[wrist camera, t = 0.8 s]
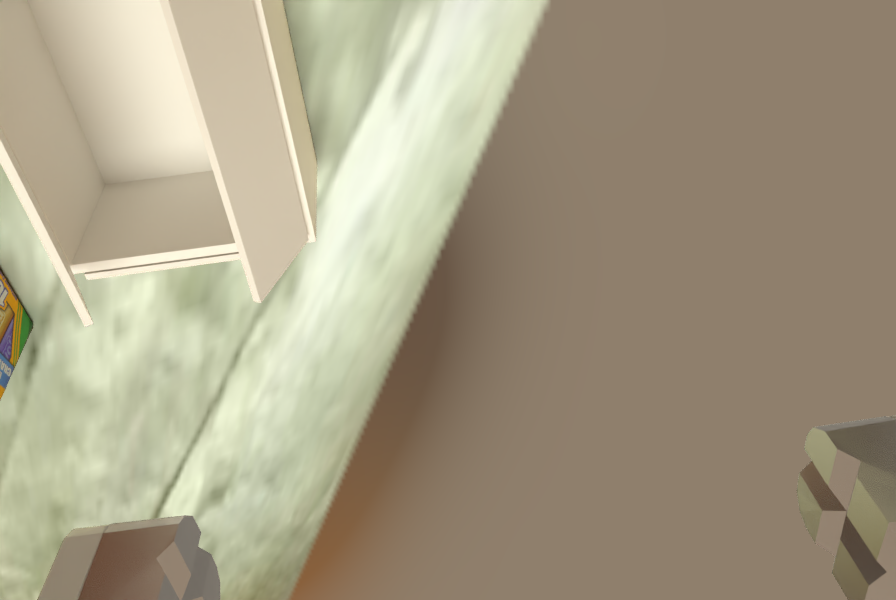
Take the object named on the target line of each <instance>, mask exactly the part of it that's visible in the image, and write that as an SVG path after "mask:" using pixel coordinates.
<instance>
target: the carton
mask: <svg viewBox="0 0 896 600" xmlns="http://www.w3.org/2000/svg"><path fill="white" fill-rule="evenodd" d="M252 2H253V7H254V11H255V15H256V19H257V24H258V28H259V32H260V36H261V40H262V45H263V49H264V53H265V57H266V62H267V66H268V70H269V74H270V78H271V83H272V87H273V91H274V95H275V100H276V104H277V108H278V112H279V116H280V121H281V125H282V129H283V133H284V138H285V142H286V146H287V150H288V154H289V159H290V163H291V167H292V171H293V176H294V180H295V184H296V188H297V192H298V197H299V201H300V205H301V209H302V214H303V218H304V222H305V226H306V230H307V235H308V239H309V240H308V241H307V243H308V242H315V241H316V209H317V160H316V155H315V150H314V145H313V141H312V136H311V131H310V126H309V122H308V117H307V112H306V107H305V103H304V98H303V93H302V89H301V84H300V79H299V74H298V70H297V65H296V60H295V55H294V51H293V46H292V41H291V36H290V32H289V27H288V22H287V17H286V13H285V8H284V3H283V0H252ZM0 128H1V130H2V132H3V134H4V136H5V138H6V140H7V142H8V144H9V146H10V148H11V150H12V152H13V154H14V156H15V158H16V160H17V162H18V164H19V166H20V168H21V170H22V172H23V174H24V176H25V178H26V180H27V182H28V184H29V186H30V188H31V190H32V192H33V194H34V196H35V198H36V200H37V202H38V204H39V206H40V208H41V210H42V212H43V214H44V216H45V218H46V220H47V222H48V224H49V226H50V228H51V230H52V232H53V234H54V236H55V238H56V240H57V242H58V244H59V246H60V248H61V250H62V252H63V254H64V256H65V258H66V260H67V262H68V264H69V266H70V268H71V270H72V272H73V274H76V273H84V272H85V274H84V275H85V277H86V279H87V280H91V279H98V278H106V277H113V276H121V275H128V274H135V273H143V272H150V271H158V270H165V269H173V268H180V267H187V266H195V265H202V264H210V263H217V262H225V261H232V260H239V259H240V256H239V252H238V249H237V246H236V243H235V240H234V236H233V233H232V230H231V227H230V224H229V221H228V217H227V214H226V211H225V208H224V205H223V201H222V198H221V195H220V192H219V189H218V186H217V182H216V179H215V176H214V173H213V170H212V166H211V163H210V160H209V157H208V154H207V151H206V147H205V144H204V141H203V138H202V135H201V131H200V128H199V125H198V122H197V119H196V116H195V112H194V109H193V106H192V103H191V100H190V96H189V93H188V90H187V87H186V84H185V81H184V77H183V74H182V71H181V68H180V65H179V61H178V58H177V55H176V52H175V49H174V45H173V42H172V39H171V36H170V33H169V30H168V26H167V23H166V20H165V17H164V14H163V10H162V7H161V4H160V1H159V0H0Z"/></svg>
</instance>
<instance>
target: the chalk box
mask: <svg viewBox="0 0 896 600" xmlns="http://www.w3.org/2000/svg"><path fill="white" fill-rule="evenodd" d="M32 329H33V324H32V321H31V320H30V318H29V317H28V315H27V314H26V312H25V310H24V309H23V307H22V306H21V304H20V302H19V300H18V299H17V297H16V295H15V294H14V292H13V290H12V289H11V287H10V286H9V284H8V282H7V281H6V279H5V277H4V276H3V274H2V272H1V271H0V399H1V397H2V395H3V393H4V391H5V389H6V387H7V384H8V382H9V379H10V377H11V375H12V372H13V370H14V368H15V366H16V364H17V362H18V359H19V357H20V355H21V352H22V350H23V348H24V346H25V344H26V341H27V339H28V337H29V334H30V333H31V331H32Z"/></svg>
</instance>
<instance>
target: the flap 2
mask: <svg viewBox="0 0 896 600" xmlns="http://www.w3.org/2000/svg"><path fill="white" fill-rule="evenodd" d="M159 1H160V4H161V7H162V10H163V14H164V17H165V20H166V23H167V26H168V30H169V33H170V36H171V39H172V42H173V45H174V49H175V52H176V55H177V58H178V61H179V65H180V68H181V71H182V74H183V77H184V81H185V84H186V87H187V90H188V93H189V96H190V100H191V103H192V106H193V109H194V112H195V116H196V119H197V122H198V125H199V128H200V131H201V135H202V138H203V141H204V144H205V147H206V151H207V154H208V157H209V160H210V163H211V166H212V170H213V173H214V176H215V179H216V182H217V186H218V189H219V192H220V195H221V198H222V201H223V205H224V208H225V211H226V214H227V217H228V221H229V224H230V227H231V230H232V233H233V236H234V240H235V243H236V246H237V249H238V252H239V256H240V259H241V262H242V265H243V268H244V271H245V275H246V278H247V281H248V284H249V287H250V291H251V294H252V297H253V300H254V302H260V303H261V302H262V301H263V299H264V298H265V297H266V295H267V294H268V293H269V291H270V290H271V289H272V288H273V286H274V285H275V284H276V282H277V281H278V280H279V278H280V277H281V276H282V274H283V273H284V272H285V270H286V269H287V268H288V266H289V265H290V264H291V263H292V261H293V260H294V259H295V257H296V256H297V255H298V253H299V252H300V251H301V249H302V248H303V247H304V245H305V244H306V243H307V241H308V240H309V239H308V235H307V230H306V226H305V222H304V218H303V214H302V209H301V205H300V201H299V197H298V192H297V188H296V184H295V180H294V176H293V171H292V167H291V163H290V159H289V154H288V150H287V146H286V142H285V138H284V133H283V129H282V125H281V121H280V116H279V112H278V108H277V104H276V100H275V95H274V91H273V87H272V83H271V78H270V74H269V70H268V66H267V62H266V57H265V53H264V49H263V45H262V40H261V36H260V32H259V28H258V24H257V19H256V15H255V11H254V7H253V2H252V0H159Z"/></svg>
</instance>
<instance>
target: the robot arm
mask: <svg viewBox="0 0 896 600" xmlns="http://www.w3.org/2000/svg"><path fill="white" fill-rule="evenodd" d="M804 449H805V451H806V452H807V454H808V455H809V457H810V459H811V460H812V461H811V462H810V463H809V464H808V465H807V466H806V467H805V468H804V469H803V470H802V471H801V472H800V473H799V479H798V486H797V496H798V503H799V509H800V513H801V515H802V518H803V520H804V523H805V526H806V528H807V530H808V532H809V533H810V535H811V537H812V539H813V540H814V542H815V544H817V545H818V546H820V547H822V548H823V549H825V550H826V551H828V552H829V553H831V554H833V555H834V556H835V561H834V565H833V570H832V574H833V575H834V577H835V579H836V580H837V582H838V584H839V585H840V587H841V589H842V590H843V592H844V594H845V596H846V597H847V599H848V600H896V415H894V416H890V417H886V416H884V417H878V418H871V419H865V420H858V421H851V422H845V423H838V424H831V425H825V426H818V427H813V428H812V430H811V431H810V432H809V433H808V435H807V439H806V443H805V448H804ZM200 535H201V531H200V529H199V527H198V525H197V524H196V522H195V520H194V518H193V516H176V517H167V518H158V519H150V520H141V521H132V522H123V523H114V524H110V525H102V526H93V527H85V528H76V529H73V530H72V531H71V532H70V533H69V534H68V535H67V536H66V537H65V538H64V540H63V541H62V544H61V546H60V548H59V551H58V553H57V555H56V558H55V560H54V562H53V565H52V567H51V569H50V571H49V574H48V576H47V578H46V581H45V583H44V585H43V588H42V590H41V592H40V595H39V597H38V599H37V600H220V580H219V575H218V570H217V566H216V564H215V562H214V559H213V557H212V555H211V554H210V553H208V552H206V551H205V550H203V549H201V548H199V547H198V544H199V540H200Z"/></svg>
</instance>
